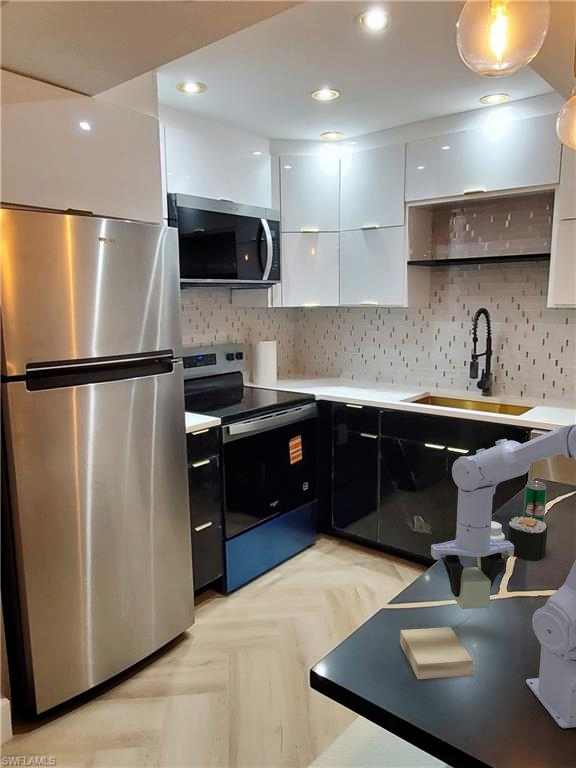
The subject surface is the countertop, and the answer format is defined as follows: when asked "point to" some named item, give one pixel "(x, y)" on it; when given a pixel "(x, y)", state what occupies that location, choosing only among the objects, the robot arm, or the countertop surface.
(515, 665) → the countertop surface
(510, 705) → the countertop surface
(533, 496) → the soda can
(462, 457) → the robot arm
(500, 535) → the supplement bottle
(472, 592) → the green cube
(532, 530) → the sushi
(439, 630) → the maple block
